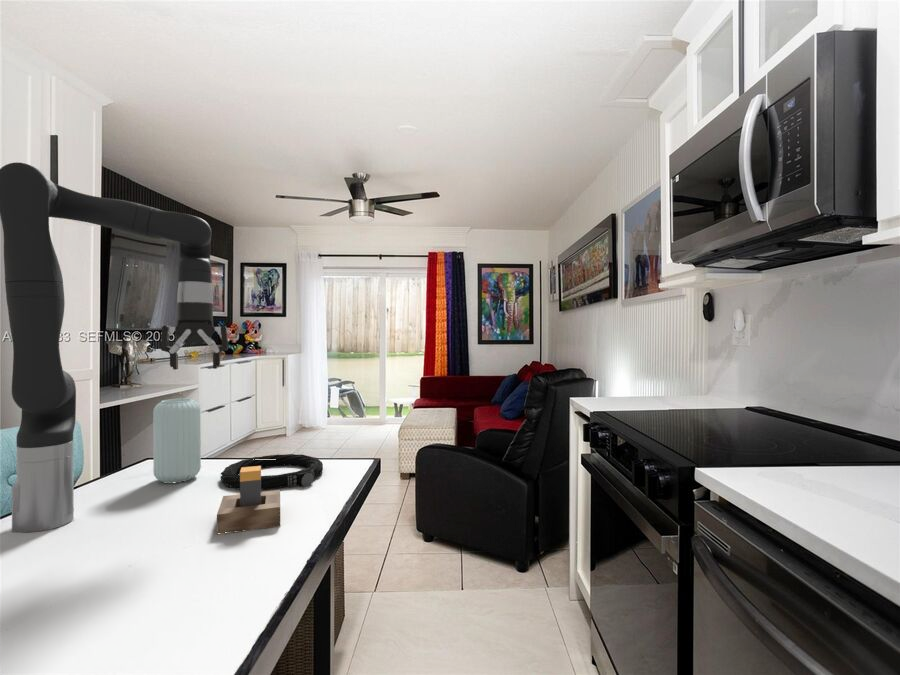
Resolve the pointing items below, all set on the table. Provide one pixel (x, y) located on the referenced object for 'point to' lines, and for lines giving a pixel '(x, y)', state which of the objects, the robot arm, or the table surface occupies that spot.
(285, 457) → the cable lock
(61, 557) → the table surface
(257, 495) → the connector plug
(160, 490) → the table surface
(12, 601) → the table surface
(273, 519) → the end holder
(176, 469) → the vase
